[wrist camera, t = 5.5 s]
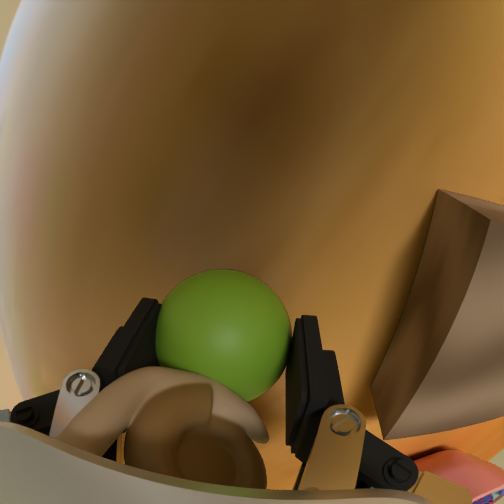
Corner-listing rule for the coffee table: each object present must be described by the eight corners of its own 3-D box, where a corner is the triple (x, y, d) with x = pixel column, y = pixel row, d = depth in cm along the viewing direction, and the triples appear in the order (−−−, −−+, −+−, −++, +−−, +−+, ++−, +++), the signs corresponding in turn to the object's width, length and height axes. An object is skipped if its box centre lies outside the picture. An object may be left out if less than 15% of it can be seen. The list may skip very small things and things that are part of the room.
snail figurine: (199, 207, 12) (3, 509, 2) (314, 295, 14) (346, 586, 3) (139, 291, 14) (11, 510, 4) (242, 359, 16) (207, 585, 5)
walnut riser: (438, 189, 11) (490, 219, 8) (568, 227, 11) (607, 253, 7) (370, 387, 16) (383, 440, 13) (501, 373, 16) (522, 409, 12)
